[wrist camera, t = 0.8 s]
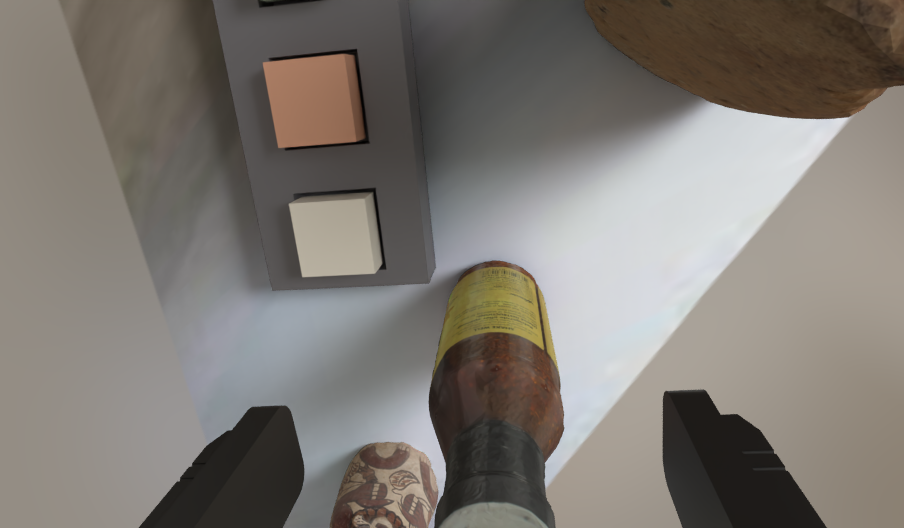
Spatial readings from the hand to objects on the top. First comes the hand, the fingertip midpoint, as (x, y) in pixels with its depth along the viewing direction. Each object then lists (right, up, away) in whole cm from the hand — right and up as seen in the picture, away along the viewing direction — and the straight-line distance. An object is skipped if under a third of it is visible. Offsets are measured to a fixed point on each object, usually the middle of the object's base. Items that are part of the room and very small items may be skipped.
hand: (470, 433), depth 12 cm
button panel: (-7, +14, +21) cm, 26 cm away
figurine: (-5, -13, +30) cm, 33 cm away
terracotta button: (-8, +13, +19) cm, 24 cm away
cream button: (-7, +6, +21) cm, 23 cm away
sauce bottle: (+3, +1, +25) cm, 25 cm away
